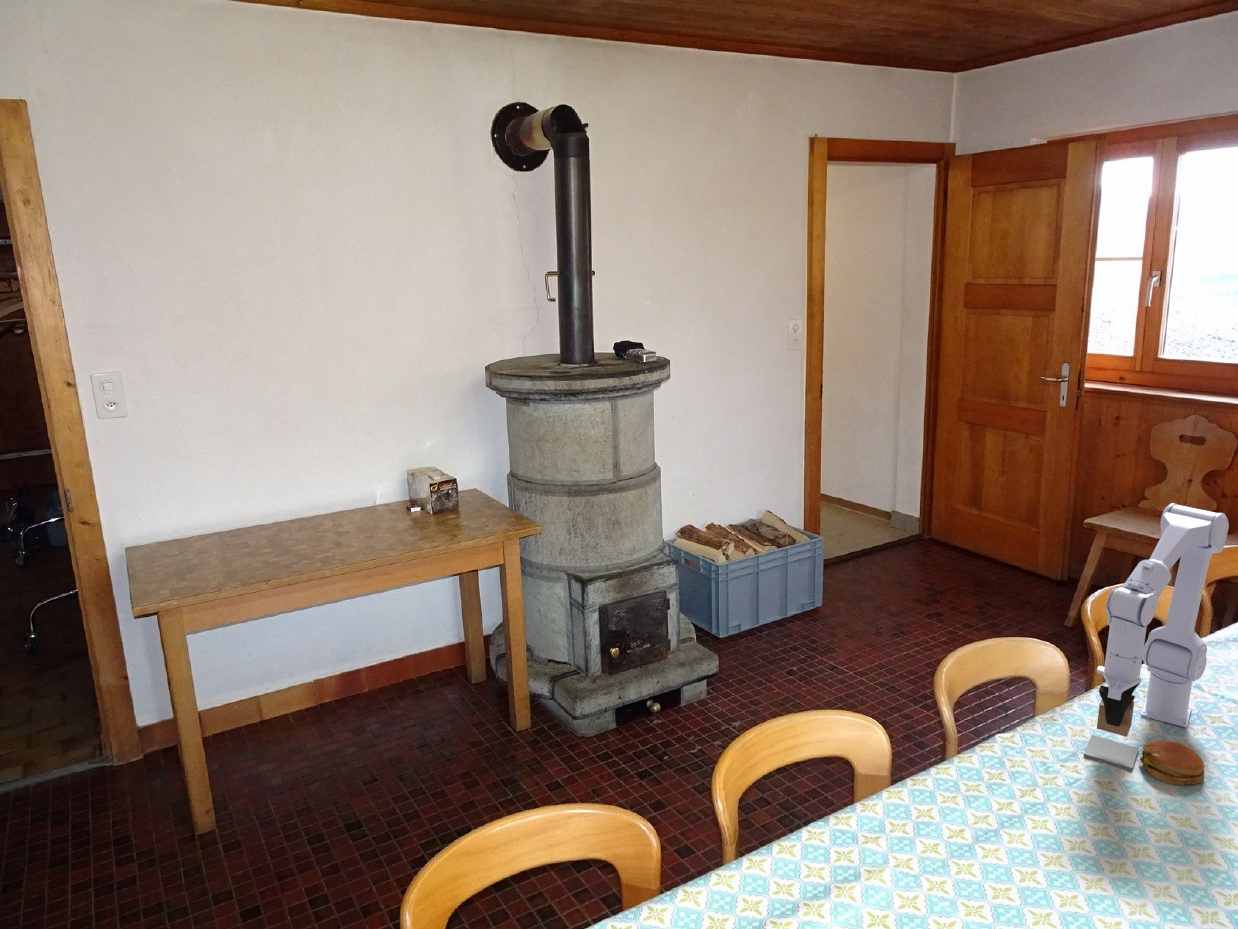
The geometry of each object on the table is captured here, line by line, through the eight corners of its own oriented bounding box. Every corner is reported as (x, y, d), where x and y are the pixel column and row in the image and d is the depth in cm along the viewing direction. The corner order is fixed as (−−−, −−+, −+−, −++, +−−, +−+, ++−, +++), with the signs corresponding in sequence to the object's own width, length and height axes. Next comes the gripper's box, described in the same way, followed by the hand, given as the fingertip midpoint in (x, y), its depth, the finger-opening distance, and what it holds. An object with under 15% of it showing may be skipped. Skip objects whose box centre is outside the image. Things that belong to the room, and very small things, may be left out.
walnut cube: (1101, 717, 167) (1104, 693, 165) (1131, 725, 164) (1134, 701, 162) (1096, 728, 163) (1099, 704, 162) (1126, 737, 160) (1130, 712, 159)
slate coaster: (1091, 737, 170) (1091, 734, 170) (1138, 750, 165) (1138, 748, 165) (1083, 756, 164) (1083, 753, 164) (1131, 771, 159) (1132, 768, 159)
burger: (1213, 777, 157) (1217, 755, 156) (1184, 794, 153) (1187, 771, 152) (1158, 751, 165) (1161, 729, 164) (1128, 766, 161) (1131, 744, 160)
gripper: (1107, 632, 167) (1099, 695, 171) (1092, 661, 156) (1084, 728, 160) (1149, 641, 163) (1140, 706, 166) (1137, 672, 152) (1128, 740, 155)
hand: (1115, 718), depth 163 cm, fingers closed on walnut cube, 5 cm apart
